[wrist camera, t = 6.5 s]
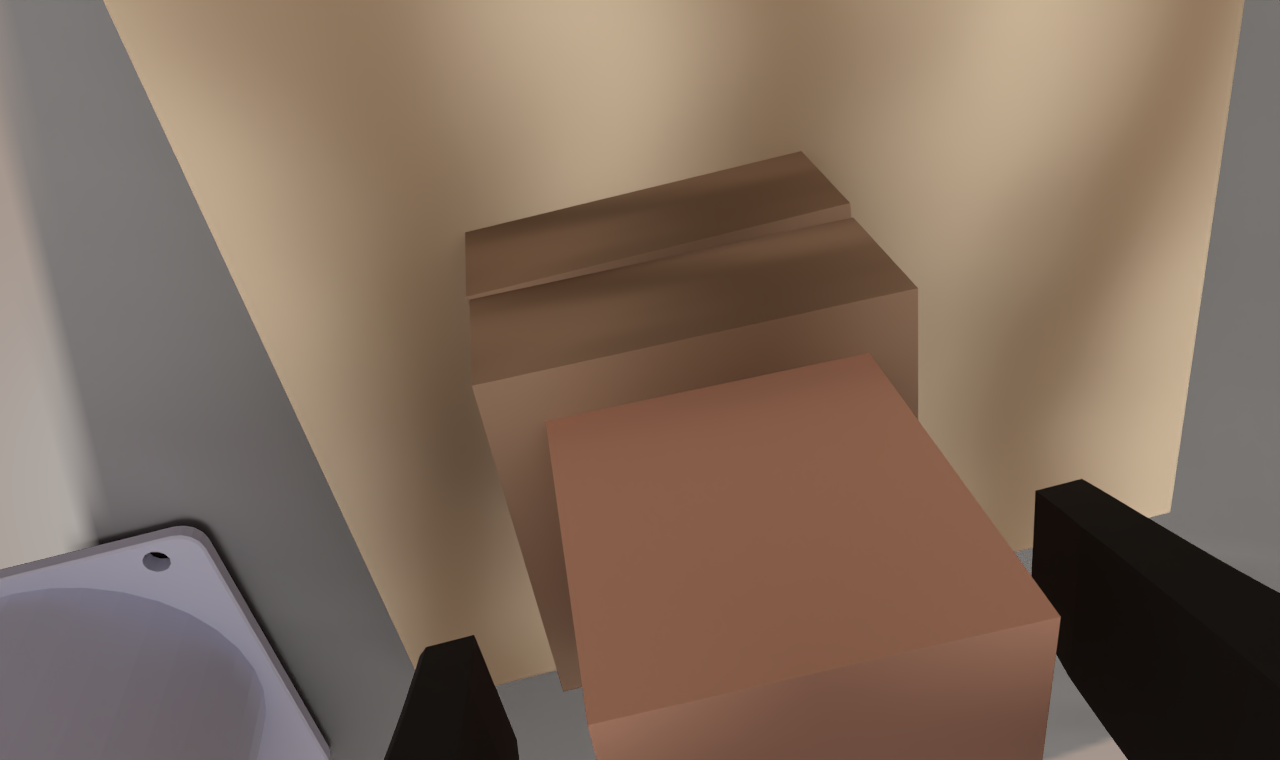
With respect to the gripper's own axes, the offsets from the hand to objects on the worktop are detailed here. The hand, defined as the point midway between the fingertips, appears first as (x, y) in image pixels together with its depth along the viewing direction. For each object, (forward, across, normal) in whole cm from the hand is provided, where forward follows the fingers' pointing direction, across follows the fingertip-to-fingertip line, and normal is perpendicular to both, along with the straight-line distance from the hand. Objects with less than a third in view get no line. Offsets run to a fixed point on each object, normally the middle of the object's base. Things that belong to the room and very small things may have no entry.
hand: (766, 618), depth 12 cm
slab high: (+5, 0, 0) cm, 5 cm away
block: (+2, 0, 0) cm, 2 cm away
